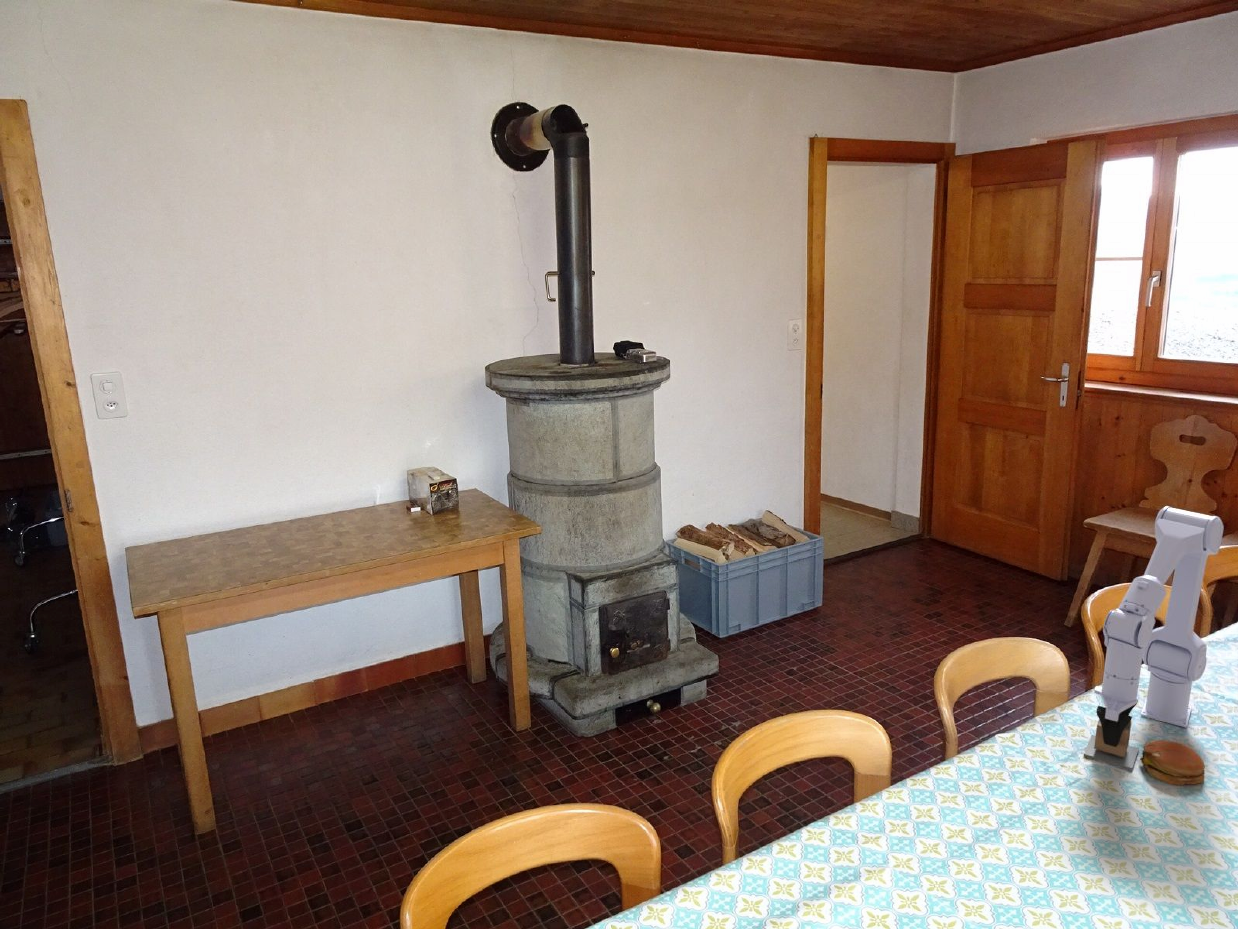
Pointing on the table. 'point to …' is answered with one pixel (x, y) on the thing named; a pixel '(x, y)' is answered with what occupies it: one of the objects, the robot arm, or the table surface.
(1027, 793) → the table surface
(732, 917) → the table surface
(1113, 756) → the slate coaster
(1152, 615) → the robot arm
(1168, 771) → the burger
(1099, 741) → the walnut cube
